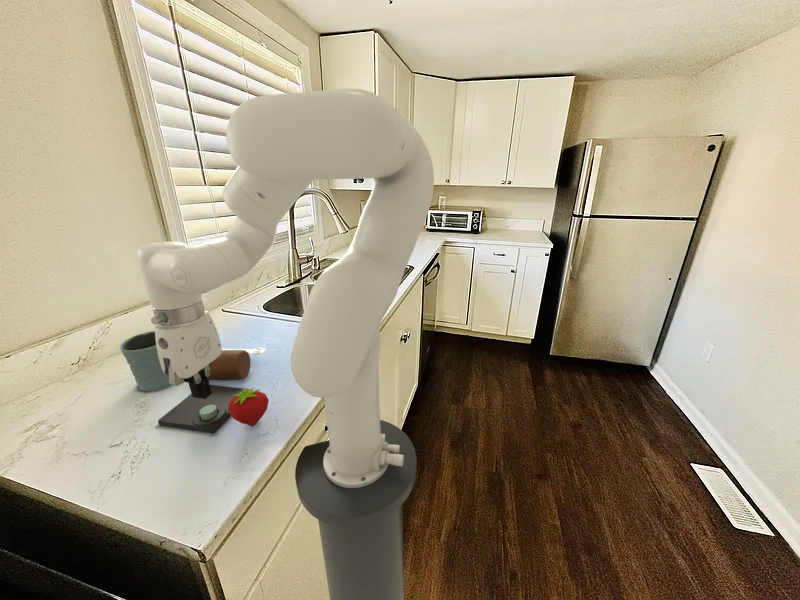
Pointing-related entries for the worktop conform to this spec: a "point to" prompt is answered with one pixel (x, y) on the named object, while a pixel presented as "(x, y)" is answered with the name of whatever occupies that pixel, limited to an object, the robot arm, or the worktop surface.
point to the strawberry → (248, 406)
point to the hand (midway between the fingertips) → (202, 395)
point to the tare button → (208, 412)
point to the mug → (230, 366)
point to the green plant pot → (145, 361)
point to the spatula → (251, 350)
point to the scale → (190, 407)
